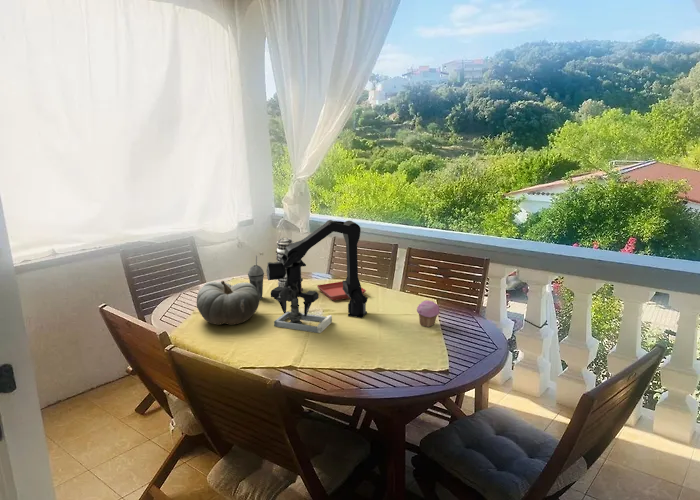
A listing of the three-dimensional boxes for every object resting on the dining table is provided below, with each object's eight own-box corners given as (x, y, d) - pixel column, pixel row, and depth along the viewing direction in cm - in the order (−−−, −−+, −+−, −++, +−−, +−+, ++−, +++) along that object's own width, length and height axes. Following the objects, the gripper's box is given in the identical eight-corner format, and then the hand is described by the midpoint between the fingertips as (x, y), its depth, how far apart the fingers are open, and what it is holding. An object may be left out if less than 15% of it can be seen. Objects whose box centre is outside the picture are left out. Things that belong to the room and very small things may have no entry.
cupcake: (425, 319, 202) (426, 296, 199) (443, 325, 196) (444, 301, 193) (412, 325, 196) (412, 301, 193) (429, 331, 190) (430, 307, 187)
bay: (331, 322, 199) (331, 315, 198) (320, 333, 188) (320, 325, 188) (287, 315, 205) (287, 309, 205) (274, 326, 195) (273, 319, 194)
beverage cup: (246, 299, 224) (243, 257, 219) (254, 294, 231) (252, 253, 226) (259, 301, 222) (257, 259, 217) (268, 296, 228) (266, 255, 223)
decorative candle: (295, 292, 234) (293, 241, 228) (276, 292, 234) (273, 241, 228) (297, 286, 243) (296, 236, 236) (278, 286, 243) (276, 236, 237)
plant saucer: (316, 291, 236) (316, 284, 235) (350, 286, 244) (350, 279, 243) (330, 303, 220) (330, 296, 220) (366, 297, 228) (366, 290, 227)
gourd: (191, 306, 209) (195, 268, 204) (249, 307, 219) (255, 271, 215) (198, 334, 187) (203, 293, 182) (262, 334, 198) (268, 294, 193)
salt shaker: (288, 320, 201) (287, 292, 198) (302, 319, 201) (301, 292, 198) (287, 326, 195) (286, 297, 192) (302, 325, 196) (301, 297, 193)
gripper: (262, 280, 189) (264, 318, 193) (306, 286, 183) (307, 325, 187) (276, 272, 199) (278, 308, 203) (318, 277, 193) (319, 314, 197)
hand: (295, 314), depth 197 cm, fingers open, 9 cm apart
